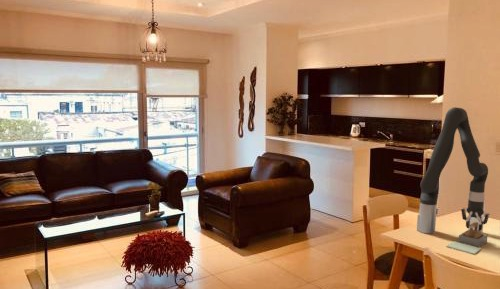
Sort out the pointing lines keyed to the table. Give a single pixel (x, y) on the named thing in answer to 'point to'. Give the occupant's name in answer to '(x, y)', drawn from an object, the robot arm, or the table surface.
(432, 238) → the table surface
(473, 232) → the caddy
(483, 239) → the holder
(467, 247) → the mat
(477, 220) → the milk
